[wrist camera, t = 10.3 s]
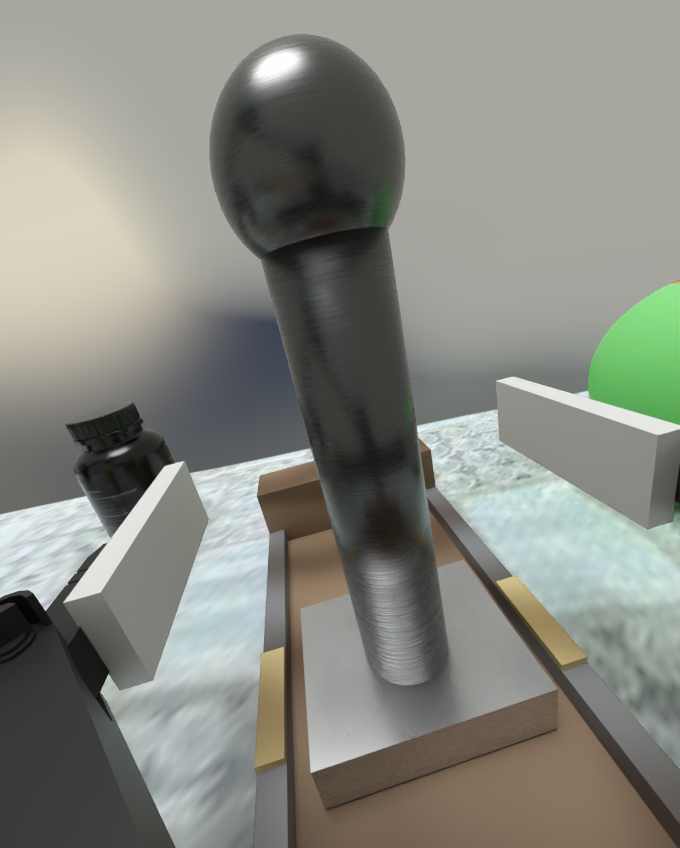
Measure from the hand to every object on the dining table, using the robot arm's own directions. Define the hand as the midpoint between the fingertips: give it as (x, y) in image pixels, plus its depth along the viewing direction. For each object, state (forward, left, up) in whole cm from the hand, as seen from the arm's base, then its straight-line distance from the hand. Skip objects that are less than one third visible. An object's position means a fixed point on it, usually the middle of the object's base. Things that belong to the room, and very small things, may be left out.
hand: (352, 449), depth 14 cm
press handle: (+2, -3, -9) cm, 10 cm away
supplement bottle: (-23, +4, -11) cm, 26 cm away
